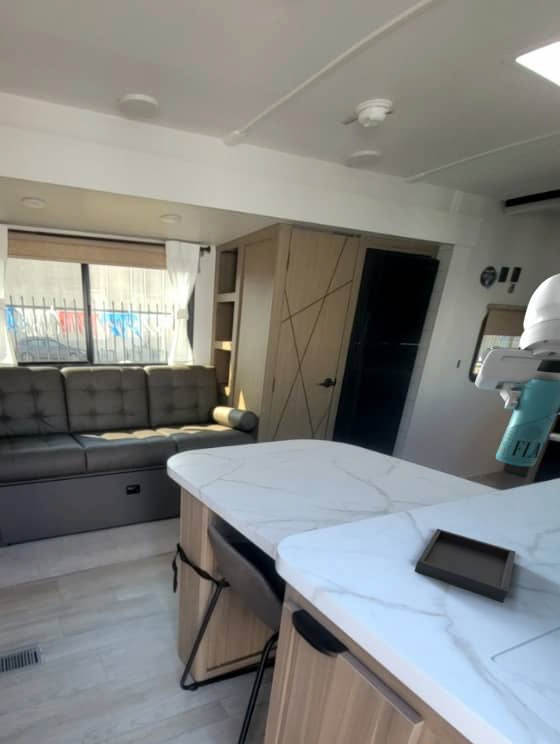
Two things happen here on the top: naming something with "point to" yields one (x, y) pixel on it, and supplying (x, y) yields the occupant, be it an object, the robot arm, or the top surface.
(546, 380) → the beverage bottle
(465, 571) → the tray
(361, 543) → the top surface
